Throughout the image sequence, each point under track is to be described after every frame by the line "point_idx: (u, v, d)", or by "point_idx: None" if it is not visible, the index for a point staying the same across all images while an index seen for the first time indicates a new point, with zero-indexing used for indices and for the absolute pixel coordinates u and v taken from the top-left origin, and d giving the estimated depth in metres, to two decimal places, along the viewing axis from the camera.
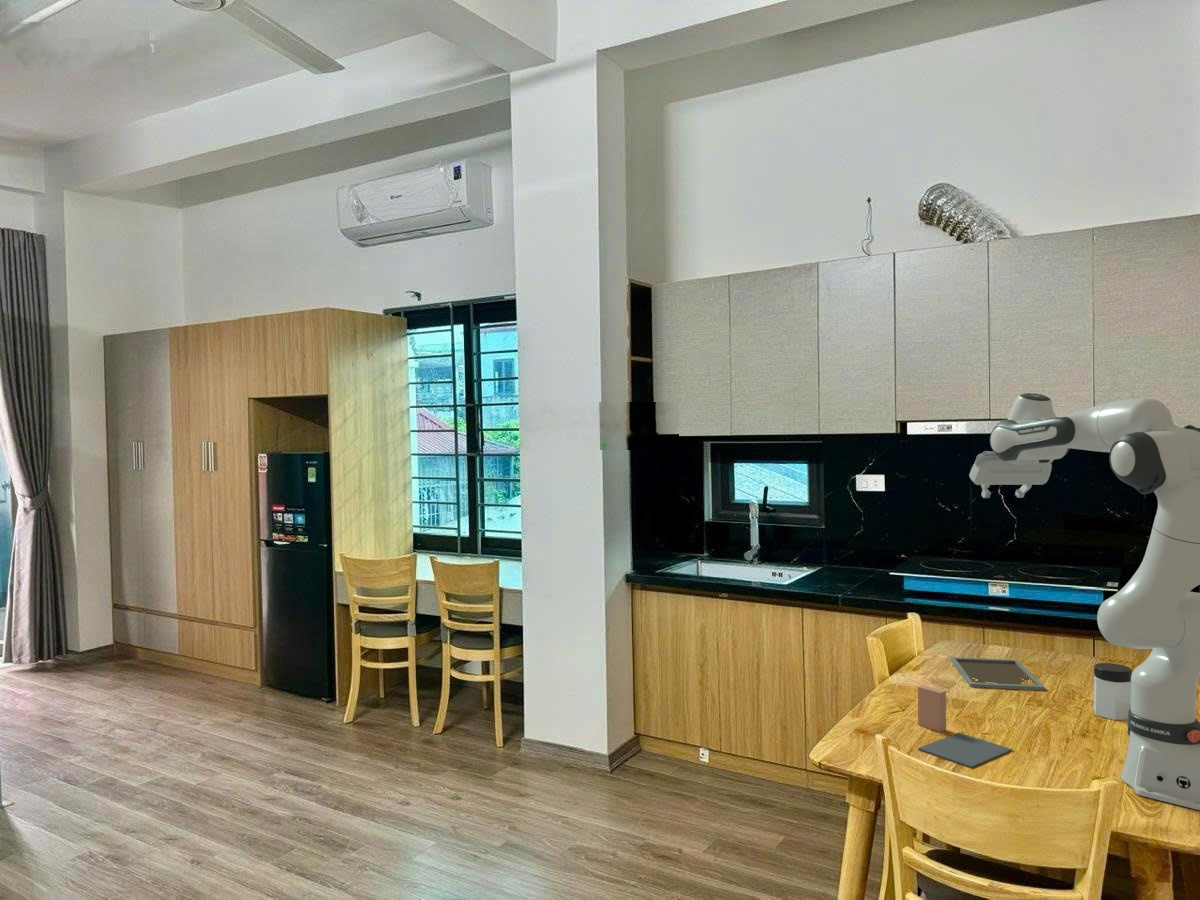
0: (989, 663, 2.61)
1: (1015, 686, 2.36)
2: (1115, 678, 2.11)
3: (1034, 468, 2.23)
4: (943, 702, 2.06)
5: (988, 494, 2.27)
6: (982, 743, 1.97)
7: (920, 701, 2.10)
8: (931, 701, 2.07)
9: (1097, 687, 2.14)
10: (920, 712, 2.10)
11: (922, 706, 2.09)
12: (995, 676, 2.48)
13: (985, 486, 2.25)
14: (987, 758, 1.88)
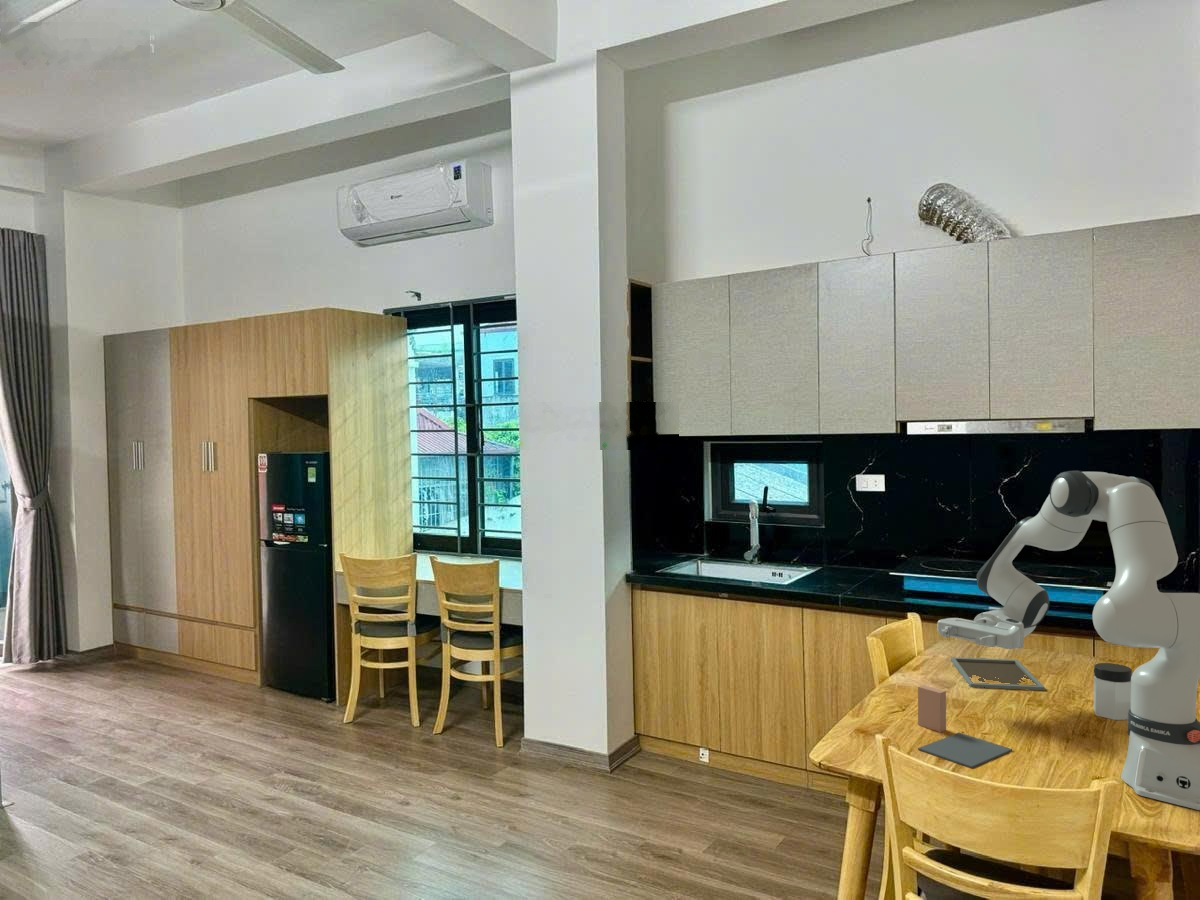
0: (989, 663, 2.61)
1: (1015, 687, 2.36)
2: (1115, 678, 2.11)
3: (1001, 629, 2.16)
4: (943, 702, 2.06)
5: (946, 629, 2.19)
6: (982, 743, 1.97)
7: (920, 701, 2.10)
8: (931, 701, 2.07)
9: (1097, 687, 2.14)
10: (920, 712, 2.10)
11: (922, 706, 2.09)
12: (995, 676, 2.48)
13: (947, 626, 2.22)
14: (987, 758, 1.88)
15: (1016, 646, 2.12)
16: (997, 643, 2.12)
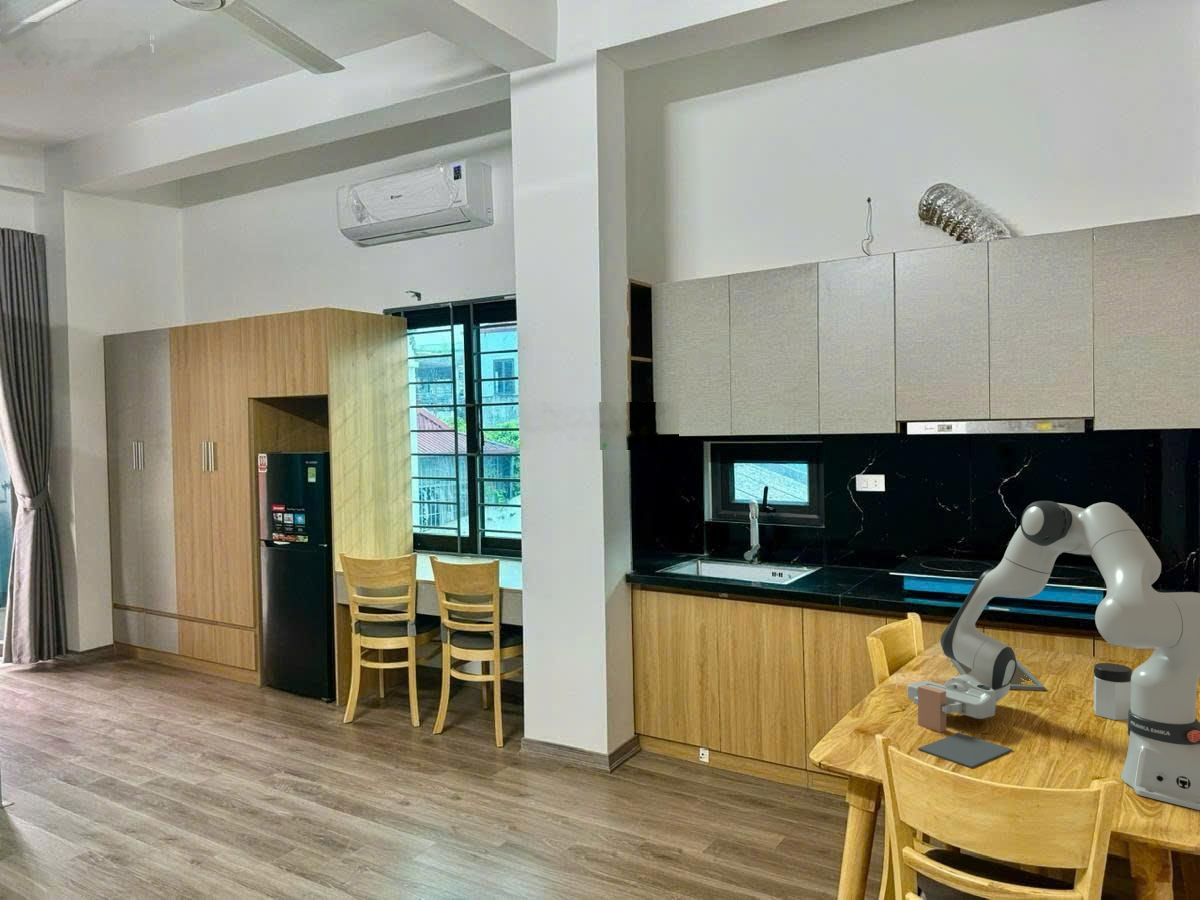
0: None
1: (1016, 687, 2.36)
2: (1115, 678, 2.11)
3: (972, 696, 2.09)
4: (943, 702, 2.06)
5: None
6: (982, 743, 1.97)
7: (920, 701, 2.10)
8: (931, 701, 2.07)
9: (1097, 687, 2.14)
10: (920, 712, 2.10)
11: (922, 706, 2.09)
12: None
13: None
14: (987, 758, 1.88)
15: (987, 715, 2.04)
16: (967, 712, 2.05)
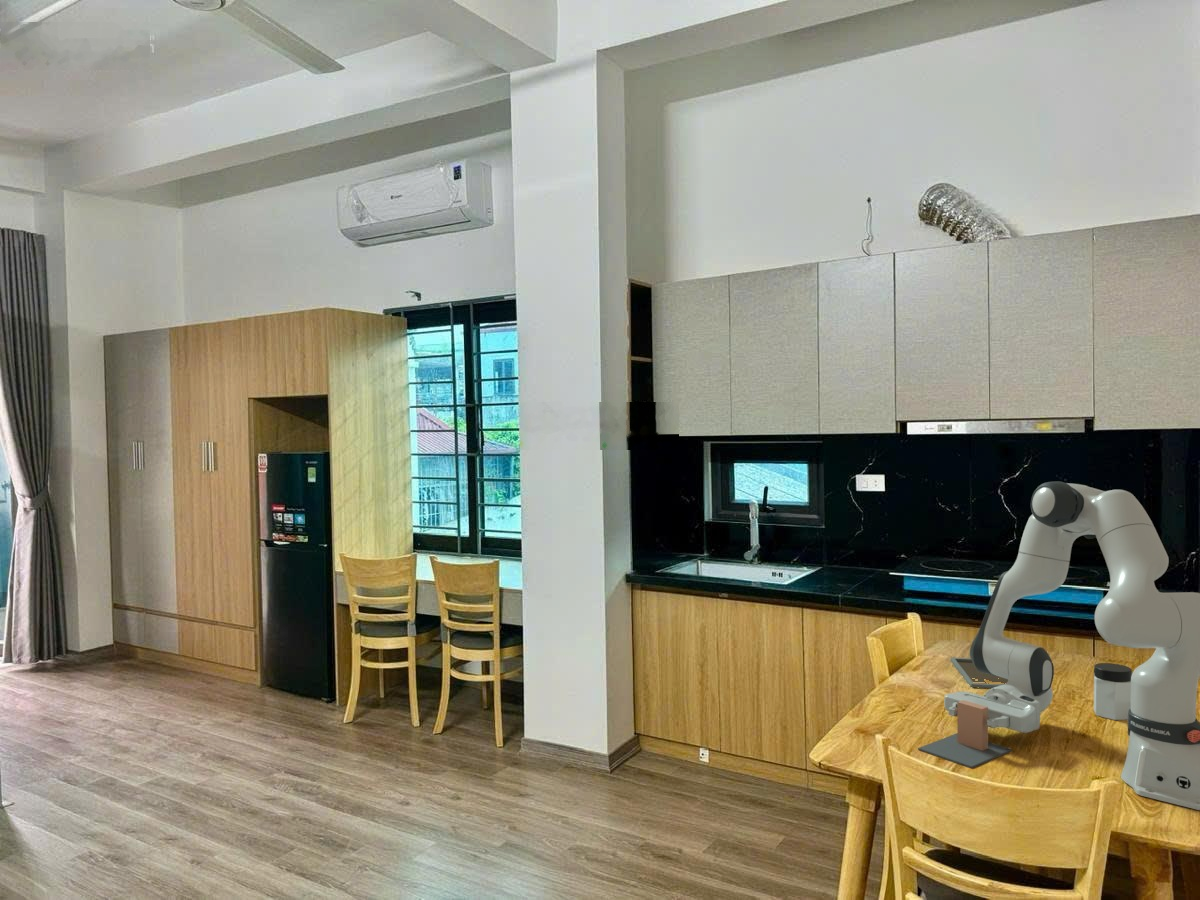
0: None
1: None
2: (1115, 678, 2.11)
3: (1015, 708, 1.96)
4: (985, 719, 1.93)
5: (954, 707, 1.99)
6: None
7: (959, 717, 1.97)
8: (972, 718, 1.94)
9: (1097, 687, 2.14)
10: (960, 730, 1.97)
11: (962, 723, 1.96)
12: (995, 676, 2.48)
13: (954, 703, 2.02)
14: (987, 758, 1.88)
15: (1032, 729, 1.92)
16: (1011, 725, 1.92)
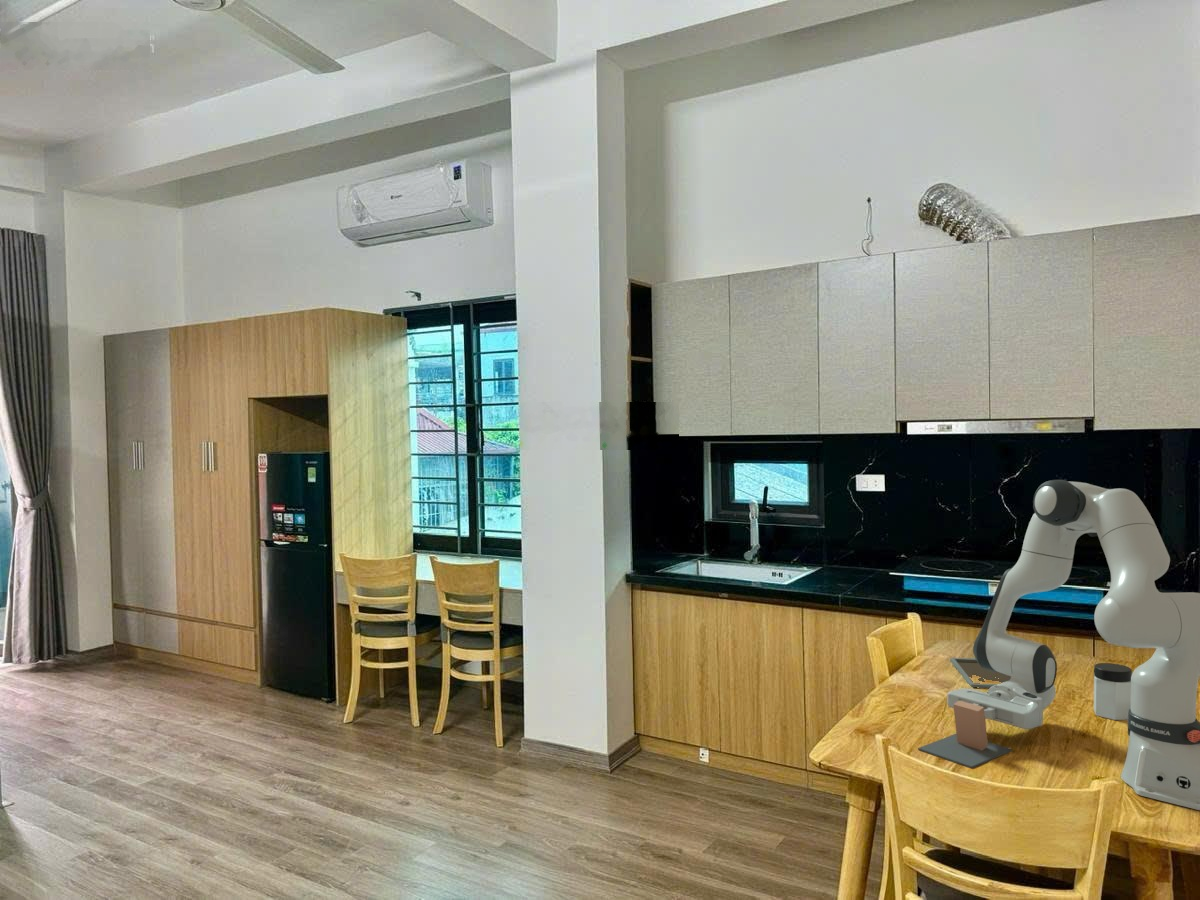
0: None
1: None
2: (1115, 678, 2.11)
3: (1018, 705, 1.97)
4: (982, 719, 1.92)
5: None
6: None
7: (957, 719, 1.96)
8: (969, 719, 1.93)
9: (1097, 687, 2.14)
10: (959, 730, 1.96)
11: (960, 724, 1.96)
12: (995, 676, 2.48)
13: None
14: (987, 758, 1.88)
15: (1034, 725, 1.92)
16: (1013, 722, 1.93)
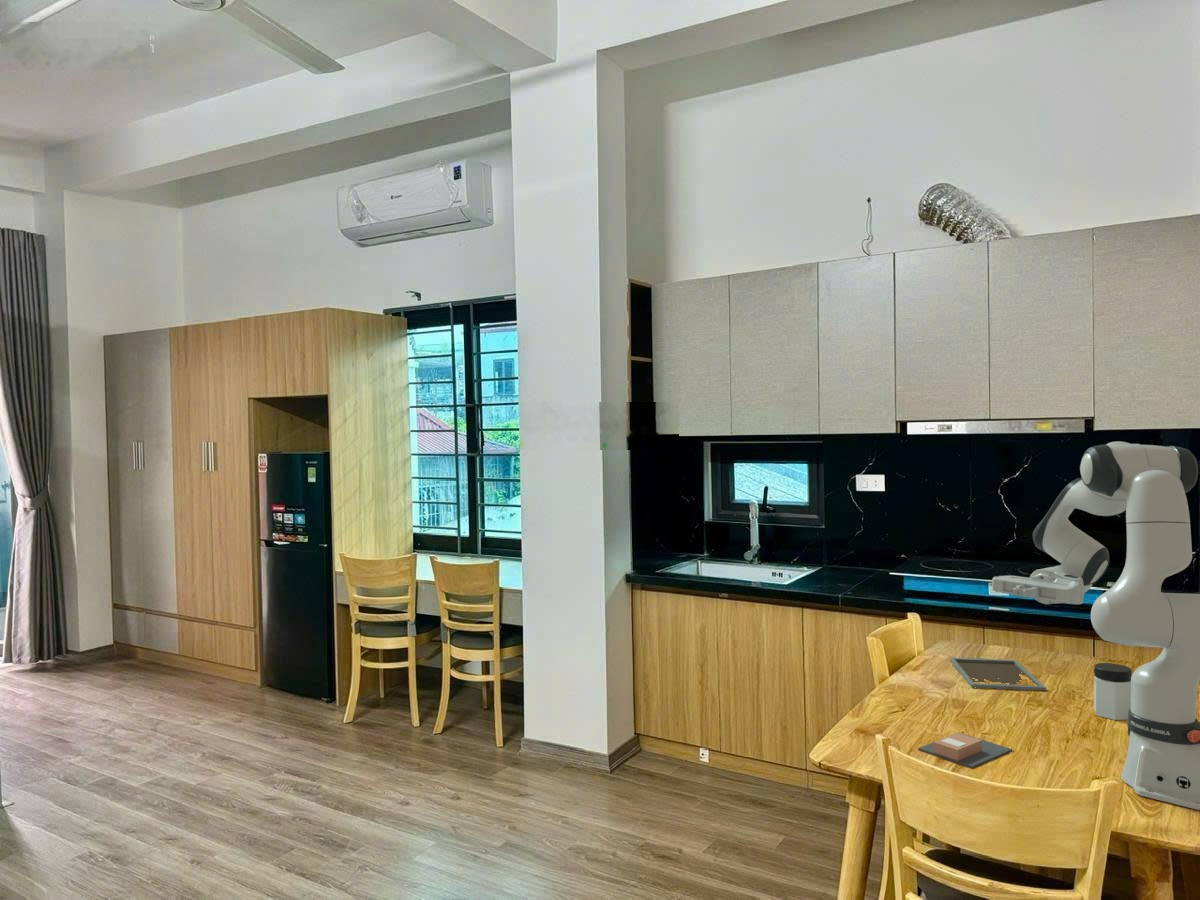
0: (988, 664, 2.60)
1: (1016, 687, 2.36)
2: (1115, 678, 2.11)
3: (1060, 585, 2.11)
4: (964, 752, 1.88)
5: (1019, 588, 2.11)
6: (982, 743, 1.97)
7: None
8: None
9: (1097, 687, 2.14)
10: None
11: None
12: (995, 676, 2.48)
13: (1018, 585, 2.13)
14: (987, 758, 1.88)
15: (1076, 601, 2.06)
16: (1057, 598, 2.07)
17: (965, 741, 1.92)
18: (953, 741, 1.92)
